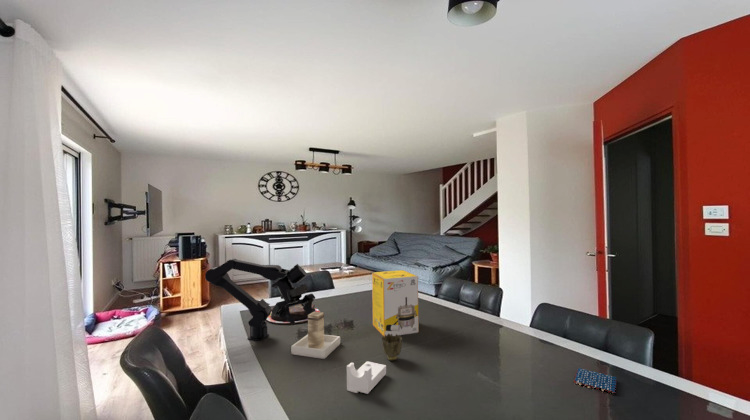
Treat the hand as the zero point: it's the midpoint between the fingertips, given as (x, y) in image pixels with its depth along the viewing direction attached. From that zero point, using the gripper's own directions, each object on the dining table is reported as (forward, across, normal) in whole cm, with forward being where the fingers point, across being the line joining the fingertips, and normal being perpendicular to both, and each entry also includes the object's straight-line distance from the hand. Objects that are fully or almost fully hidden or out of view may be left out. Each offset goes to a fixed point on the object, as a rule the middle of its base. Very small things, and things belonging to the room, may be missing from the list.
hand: (303, 321), depth 130 cm
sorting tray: (+12, 0, +1) cm, 12 cm away
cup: (+33, +11, -19) cm, 40 cm away
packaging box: (+21, +37, -7) cm, 43 cm away
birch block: (+12, 0, 0) cm, 12 cm away
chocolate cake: (-17, +20, +31) cm, 40 cm away
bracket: (+35, -7, -21) cm, 42 cm away
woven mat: (+75, +36, -61) cm, 103 cm away
